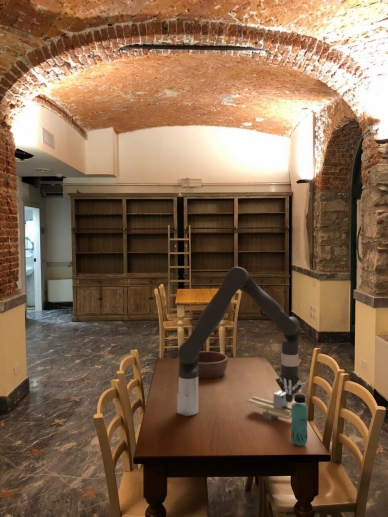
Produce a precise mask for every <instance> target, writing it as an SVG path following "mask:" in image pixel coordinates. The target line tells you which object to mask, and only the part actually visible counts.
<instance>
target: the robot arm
mask: <svg viewBox="0 0 388 517" xmlns="http://www.w3.org/2000/svg"><path fill="white" fill-rule="evenodd" d="M239 289H240V290H242V291H243V292H245V294H247V295H248V296H249V297H250V298H251V299H252V300H253V301H254V302H255V303H256V305H257V307H259V309H260V310H261V311H263V313H264V314H265V315H266V316H268V317H269V318H270V319H271V320H272V322H273V323H274V324H275V326H276V327H277V329H278V330H280V331H281V333H283V339H282V342H281V356H280V376H279V377H277V378H275V382H276V383H277V385H278V386H279V388H280V390H282V391H284V392H285V393H286V400H287V402H288V404H289V403H292V402H293V400H294V395H296V394H297V393H298V392H299V391H300V390H301V389H302V388H303V387H304V382H301V381H300V377H299V375H300V374H299V373H300V372H299V370H300V369H299V366H300V365H299V364H300V358H299V339H300V332H301V324H300V321H299V320H298V318H296V317H295V316H289V315H287V314H286V313H285V310H284V308H283V307H282V306H281V305H280V304H279V303H278V302H277V301H276V300H275V299H274V298H273V297H272V296H270V295H269V294H268V293H267V292H265V290H263V289H262V287H261V286H259V285H258V284H257V282H255V280H254V279H253V278H252V276H251V275H250V274H249V272H248V271H247V270H246V269H245V268H243V267H240V266H234V267H232V268H230V269H229V270H228V272H227V273H226V275H225V277H224V279H223V281H222V283H221V285H220V287H219V288H218V290H217V291H216V293H215V294H214V295H213V297H212V298H211V300H210V301H209V302H208V303H207V305H206V306H205V307H204V309H203V311H202V313H201V314H200V316H199V318H198V320H197V322H196V324H195V326H194V328H193V331H192V332H191V334H190V335H189V337H188V338H187V339H186V340H184V341H183V342H181V343H180V345H179V347H178V350H177V357H178V392H177V393H176V395H177V397H176V398H177V399H176V401H177V402H176V403H177V405H176V406H177V409H176V410H177V411H176V412H177V414H179V415H182V416H184V417H189V416H194V415H196V414H198V413H199V378H198V367H199V352H201V350H202V348H203V346H204V345H205V343H206V342H207V340H209V338H210V336H211V335H212V334H213V333H214V331H215V330H216V329H217V327H218V326H220V323H221V321H222V320H223V319H224V317H225V315H226V314H227V311H228V308H229V306H230V304H231V301H232V299H233V298H234V297H235V295H236V293H237V292H238V291H239ZM296 386H297V387H296Z"/></svg>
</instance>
